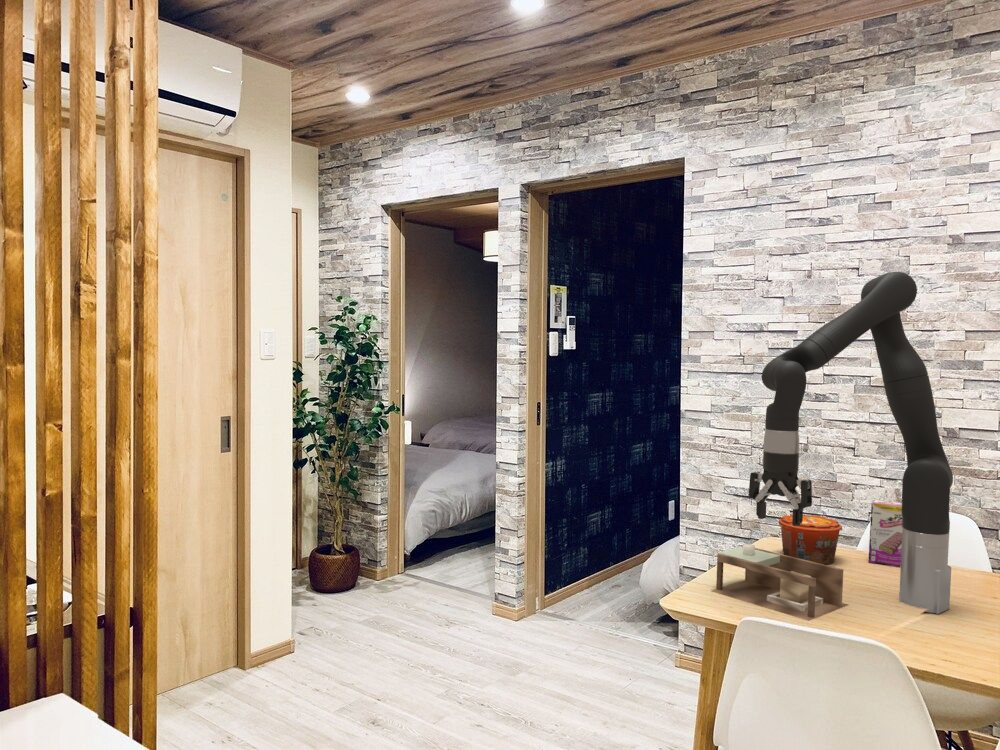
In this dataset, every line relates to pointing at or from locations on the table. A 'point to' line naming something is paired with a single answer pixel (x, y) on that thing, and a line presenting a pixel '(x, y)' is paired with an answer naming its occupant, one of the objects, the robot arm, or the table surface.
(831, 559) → the food container
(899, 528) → the candy bar box
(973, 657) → the table surface
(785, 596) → the birch block
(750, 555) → the sliding cover
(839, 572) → the brown wooden frame
